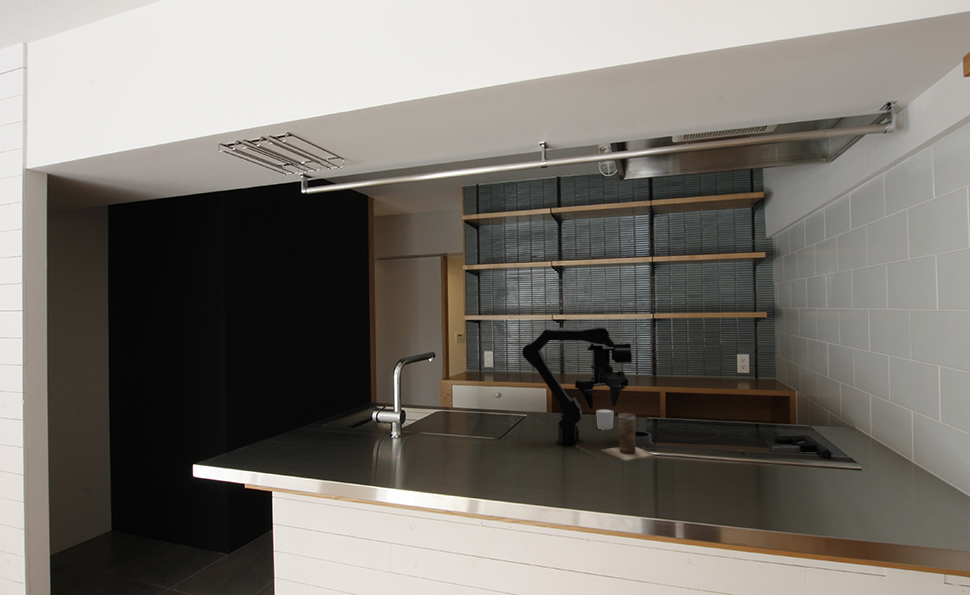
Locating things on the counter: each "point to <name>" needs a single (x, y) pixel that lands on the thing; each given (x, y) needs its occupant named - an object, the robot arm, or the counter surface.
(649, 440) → the cup
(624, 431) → the tapered cup
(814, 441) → the door handle
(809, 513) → the counter surface
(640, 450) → the beige cloth napkin
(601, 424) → the shot glass
